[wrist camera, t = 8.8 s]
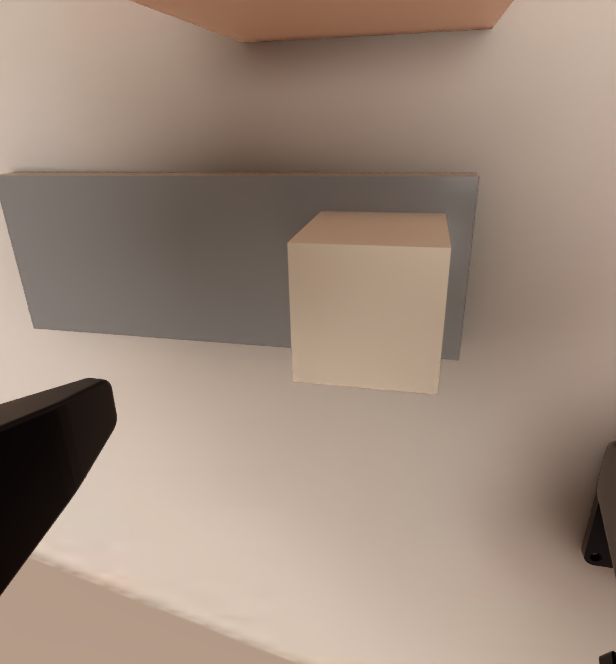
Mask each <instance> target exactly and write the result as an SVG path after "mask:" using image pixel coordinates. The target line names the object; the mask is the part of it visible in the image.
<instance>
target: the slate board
mask: <svg viewBox="0 0 616 664" xmlns="http://www.w3.org/2000/svg"><path fill="white" fill-rule="evenodd" d="M478 182H479V176H478V175H477V173H218V172H13V173H6V174H0V201H1V205H2V209H3V213H4V216H5V220H6V224H7V228H8V232H9V236H10V239H11V243H12V247H13V251H14V255H15V258H16V262H17V266H18V270H19V274H20V277H21V281H22V285H23V289H24V293H25V297H26V300H27V304H28V308H29V312H30V316H31V319H32V323H33V327H34V328H35V329H49V330H62V331H75V332H89V333H102V334H115V335H129V336H142V337H155V338H168V339H182V340H195V341H208V342H222V343H235V344H248V345H262V346H275V347H288V348H291V326H290V300H289V274H288V248H287V243H288V242H289V241H290V240H291V239H292V238H293V237H294V236H295V235H296V234H297V233H298V232H299V231H300V230H302V229H303V228H304V227H305V226H306V225H307V224H308V223H309V222H310V221H311V220H312V219H313V218H314V217H315V216H316V215H317V214H319V213H320V212H321V211H340V212H397V213H446V219H447V225H448V231H449V237H450V243H451V256H450V267H449V278H448V288H447V299H446V309H445V320H444V331H443V341H442V352H441V359H448V360H459V354H460V345H461V336H462V326H463V317H464V308H465V299H466V290H467V281H468V272H469V263H470V254H471V245H472V236H473V227H474V218H475V209H476V200H477V191H478Z"/></svg>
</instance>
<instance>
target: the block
mask: <svg viewBox="0 0 616 664" xmlns="http://www.w3.org/2000/svg"><path fill="white" fill-rule="evenodd" d="M287 248H288V274H289V300H290V326H291V351H292V377H293V382H301V383H312V384H324V385H335V386H346V387H357V388H368V389H380V390H391V391H402V392H413V393H424V394H435V395H437V394H438V384H439V373H440V362H441V352H442V341H443V331H444V320H445V309H446V299H447V288H448V278H449V267H450V256H451V243H450V237H449V231H448V225H447V219H446V213H397V212H340V211H321V212H320V213H319V214H317V215H316V216H315V217H314V218H313V219H312V220H311V221H310V222H309V223H308V224H307V225H306V226H305V227H304V228H303V229H302V230H300V231H299V232H298V233H297V234H296V235H295V236H294V237H293V238H292V239H291V240H290V241H289V242H288V243H287Z"/></svg>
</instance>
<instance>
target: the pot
mask: <svg viewBox="0 0 616 664" xmlns="http://www.w3.org/2000/svg"><path fill="white" fill-rule="evenodd" d="M130 1H132V2H135V3H138V4H141V5H143V6H146V7H149V8H152V9H154V10H157V11H160V12H162V13H165V14H168V15H171V16H173V17H176V18H179V19H181V20H184V21H187V22H190V23H192V24H195V25H198V26H201V27H203V28H206V29H209V30H211V31H214V32H217V33H220V34H222V35H225V36H228V37H231V38H233V39H236V40H239V41H241V42H260V41H279V40H297V39H315V38H333V37H352V36H370V35H388V34H406V33H425V32H443V31H461V30H479V29H492V28H493V26H494V25H495V24H496V23H497V21H498V20H499V19H500V17H501V16H502V15H503V14H504V12H505V11H506V10H507V8H508V7H509V6H510V5H511V3H512V2H513V1H514V0H130Z"/></svg>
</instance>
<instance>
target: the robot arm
mask: <svg viewBox="0 0 616 664" xmlns="http://www.w3.org/2000/svg"><path fill="white" fill-rule="evenodd" d="M116 422H117V413H116V408H115V402H114V397H113V391H112V387H111V384H110V383H109V382H108V381H107V380H103V379H95V378H86V379H82V380H79V381H76V382H72V383H69V384H66V385H62V386H59V387H56V388H52V389H49V390H46V391H43V392H39V393H36V394H33V395H29V396H26V397H23V398H19V399H16V400H13V401H9V402H6V403H3V404H0V596H1V594H2V593H3V592H4V590H5V589H6V587H7V586H8V585H9V583H10V582H11V581H12V579H13V578H14V577H15V575H16V574H17V573H18V571H19V570H20V568H21V567H22V566H23V564H24V563H25V562H26V560H27V559H28V558H29V556H30V555H31V553H32V552H33V551H34V549H35V548H36V547H37V545H38V544H39V543H40V541H41V540H42V538H43V537H44V536H45V534H46V533H47V532H48V530H49V529H50V528H51V526H52V525H53V524H54V522H55V521H56V519H57V518H58V517H59V515H60V514H61V513H62V511H63V510H64V509H65V507H66V506H67V504H68V503H69V502H70V500H71V499H72V497H73V496H74V495H75V493H76V492H77V490H78V489H79V487H80V485H81V484H82V482H83V481H84V479H85V477H86V476H87V474H88V472H89V471H90V469H91V467H92V465H93V464H94V462H95V460H96V459H97V457H98V455H99V454H100V452H101V450H102V449H103V447H104V445H105V444H106V442H107V440H108V438H109V437H110V435H111V433H112V432H113V430H114V428H115V425H116ZM593 553H597V554H593ZM582 554H583V557H584V559H585V561H586V562H587V563H589V564H592V565H596V566H603V567H610V568H614V572H615V576H616V441H613V442H611V443H610V444H609V446H608V448H607V451H606V454H605V458H604V462H603V465H602V469H601V472H600V476H599V479H598V485H597V493H596V497H595V501H594V504H593V508H592V512H591V516H590V519H589V523H588V527H587V531H586V535H585V538H584V542H583V546H582ZM599 664H616V652H614V651H611V652H609V653H606V654H604V655H602V656H599Z"/></svg>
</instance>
